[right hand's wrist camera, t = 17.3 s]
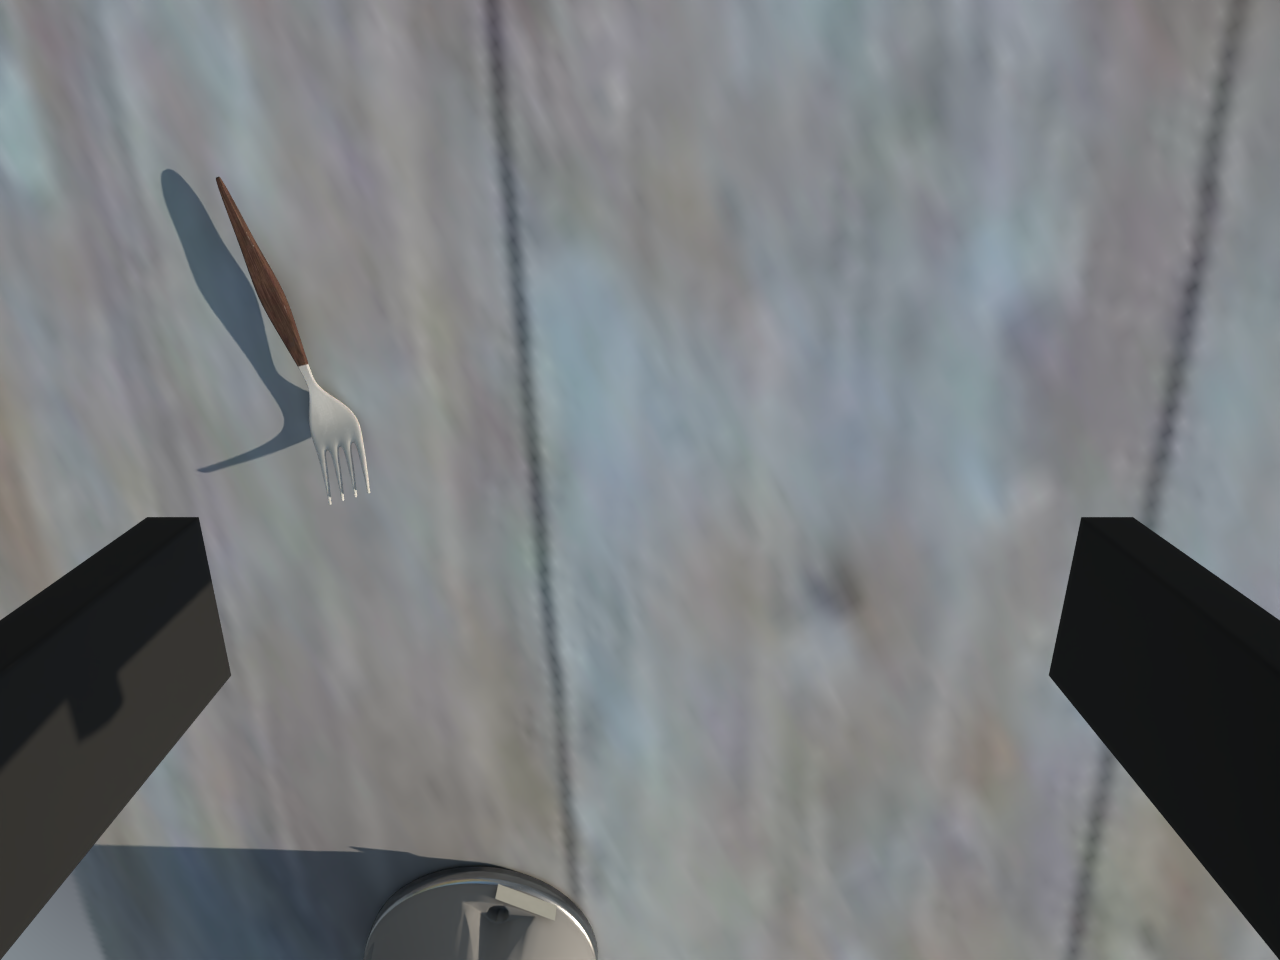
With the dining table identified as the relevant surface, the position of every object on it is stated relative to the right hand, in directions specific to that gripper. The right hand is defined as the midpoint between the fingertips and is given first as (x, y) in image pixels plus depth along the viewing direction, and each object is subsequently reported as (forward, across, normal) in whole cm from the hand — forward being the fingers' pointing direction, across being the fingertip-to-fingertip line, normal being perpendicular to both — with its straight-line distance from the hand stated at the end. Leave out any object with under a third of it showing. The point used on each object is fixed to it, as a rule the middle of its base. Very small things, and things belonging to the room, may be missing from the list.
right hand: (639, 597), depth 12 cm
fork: (+30, +17, +2) cm, 34 cm away
